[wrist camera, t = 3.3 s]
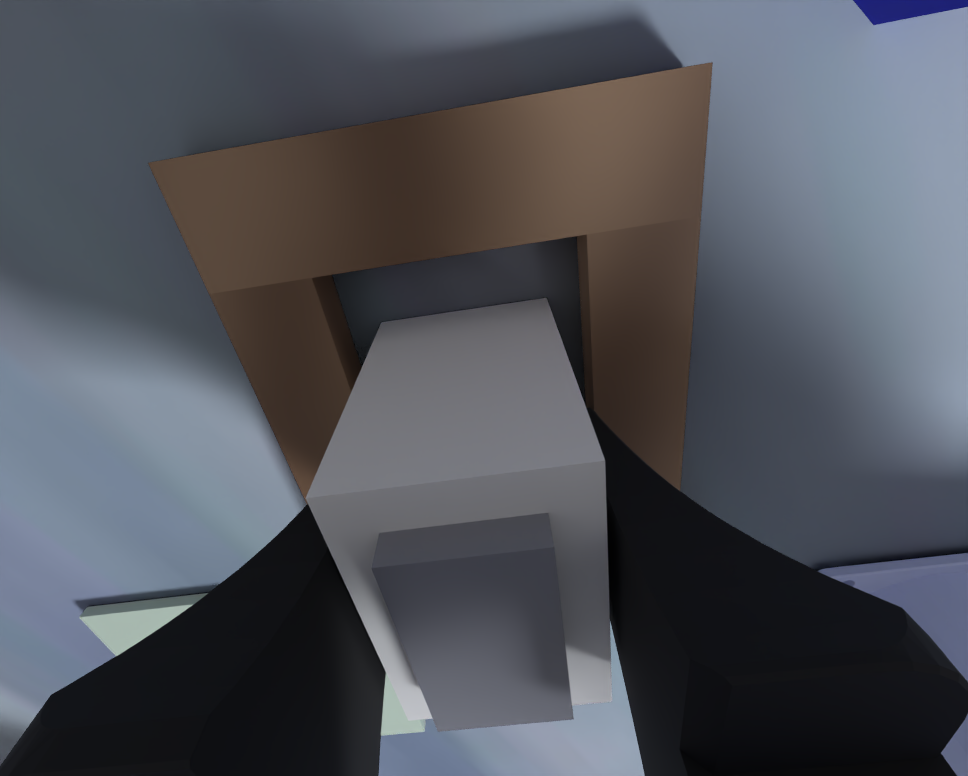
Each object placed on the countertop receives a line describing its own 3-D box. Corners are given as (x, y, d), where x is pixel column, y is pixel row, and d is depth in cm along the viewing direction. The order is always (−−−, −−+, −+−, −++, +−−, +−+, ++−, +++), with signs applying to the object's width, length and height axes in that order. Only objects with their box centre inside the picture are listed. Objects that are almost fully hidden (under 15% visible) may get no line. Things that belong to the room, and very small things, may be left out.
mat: (362, 575, 16) (360, 585, 16) (425, 721, 21) (424, 731, 21) (87, 606, 17) (78, 617, 17) (211, 741, 22) (207, 751, 22)
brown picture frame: (685, 66, 9) (712, 62, 8) (660, 561, 16) (672, 592, 15) (183, 156, 10) (148, 163, 9) (370, 593, 17) (363, 625, 16)
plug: (546, 297, 11) (616, 493, 6) (563, 486, 14) (620, 737, 9) (381, 322, 12) (290, 533, 6) (432, 503, 15) (404, 756, 9)
